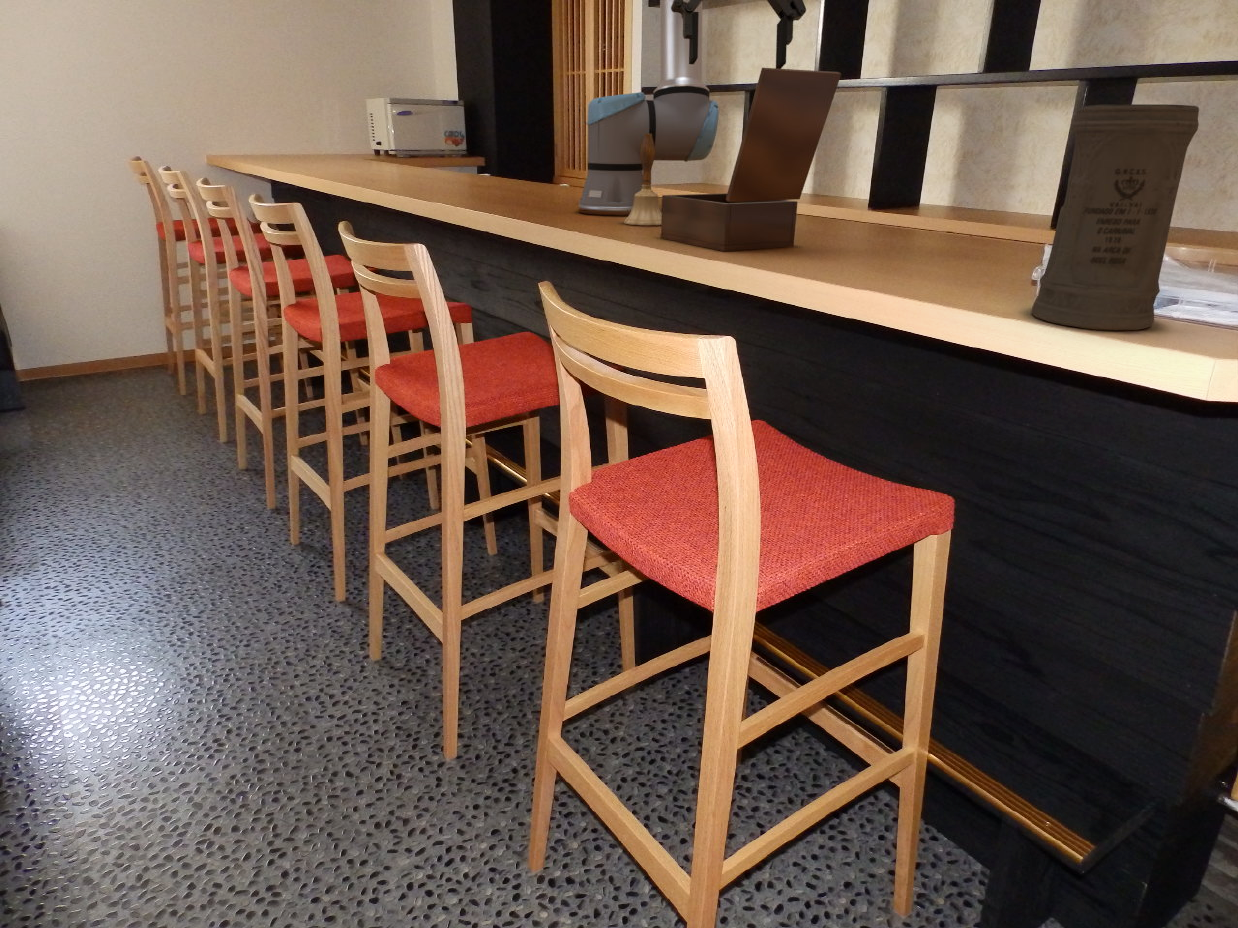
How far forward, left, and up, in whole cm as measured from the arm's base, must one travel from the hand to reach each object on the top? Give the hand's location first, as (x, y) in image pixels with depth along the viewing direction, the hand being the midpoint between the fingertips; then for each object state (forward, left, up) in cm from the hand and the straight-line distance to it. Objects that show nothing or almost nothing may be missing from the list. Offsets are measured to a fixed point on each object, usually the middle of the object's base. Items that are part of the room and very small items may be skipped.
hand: (737, 64), depth 127 cm
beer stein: (+23, +58, -26) cm, 68 cm away
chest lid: (+5, +11, -10) cm, 16 cm away
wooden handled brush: (-11, -26, -26) cm, 38 cm away
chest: (+1, 0, -26) cm, 26 cm away
